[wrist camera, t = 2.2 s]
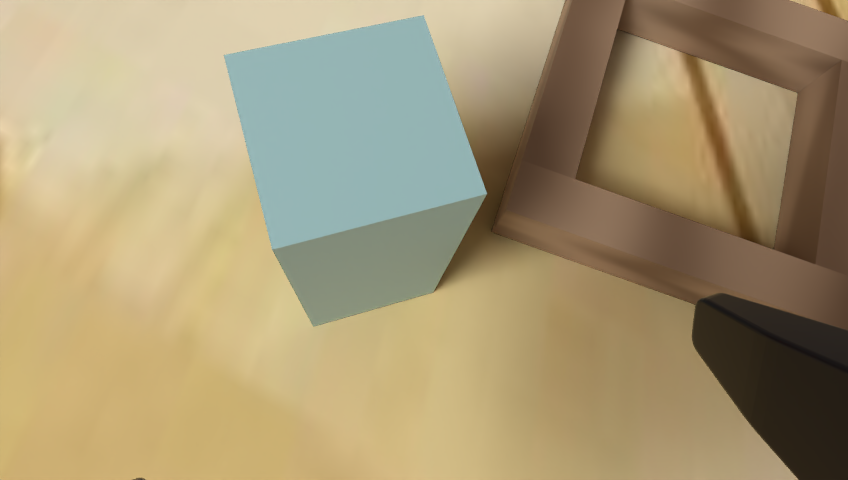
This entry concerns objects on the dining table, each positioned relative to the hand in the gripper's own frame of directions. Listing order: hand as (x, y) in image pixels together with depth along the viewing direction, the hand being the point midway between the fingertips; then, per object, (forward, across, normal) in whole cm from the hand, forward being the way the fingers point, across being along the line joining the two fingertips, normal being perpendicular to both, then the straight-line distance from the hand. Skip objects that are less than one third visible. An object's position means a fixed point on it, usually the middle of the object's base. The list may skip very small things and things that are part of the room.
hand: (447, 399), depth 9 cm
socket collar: (+13, -14, +4) cm, 20 cm away
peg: (+13, 0, +4) cm, 13 cm away
